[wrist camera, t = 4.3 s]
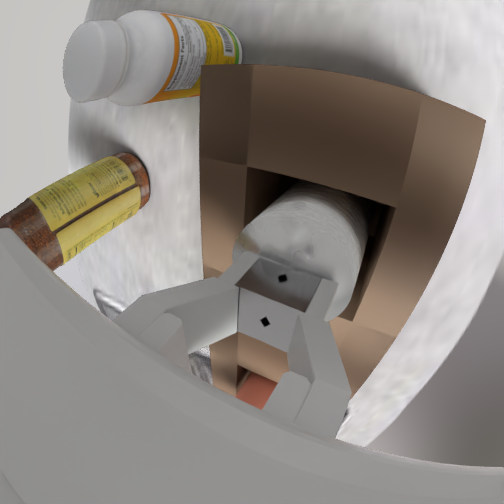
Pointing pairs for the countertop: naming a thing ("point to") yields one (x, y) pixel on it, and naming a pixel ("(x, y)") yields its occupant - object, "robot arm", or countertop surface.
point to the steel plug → (313, 235)
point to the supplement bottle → (144, 57)
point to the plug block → (336, 176)
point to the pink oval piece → (256, 390)
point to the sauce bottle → (80, 208)
